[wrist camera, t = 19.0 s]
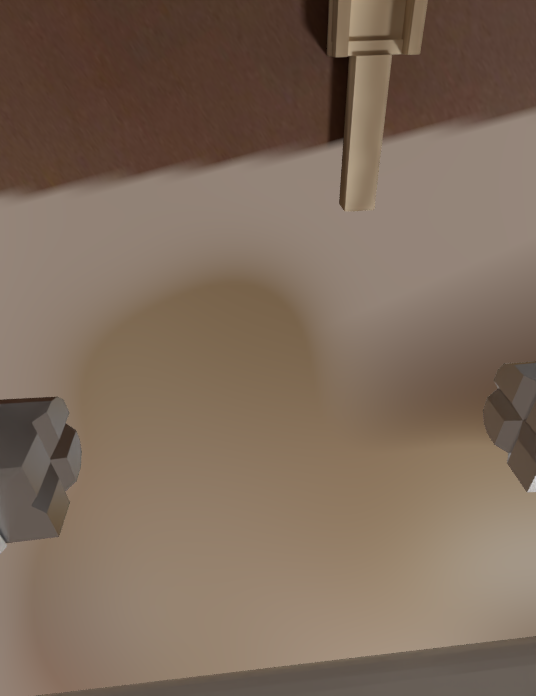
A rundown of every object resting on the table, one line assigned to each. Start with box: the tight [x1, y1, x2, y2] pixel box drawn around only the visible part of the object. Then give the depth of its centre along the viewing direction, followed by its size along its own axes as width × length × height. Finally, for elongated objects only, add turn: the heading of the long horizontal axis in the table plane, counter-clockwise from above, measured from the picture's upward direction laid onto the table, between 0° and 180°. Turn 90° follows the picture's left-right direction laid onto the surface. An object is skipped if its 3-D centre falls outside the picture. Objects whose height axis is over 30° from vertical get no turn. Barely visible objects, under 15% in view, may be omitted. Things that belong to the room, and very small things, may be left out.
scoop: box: [327, 0, 428, 211], centre depth 39 cm, size 7×19×4 cm, turn 2°
